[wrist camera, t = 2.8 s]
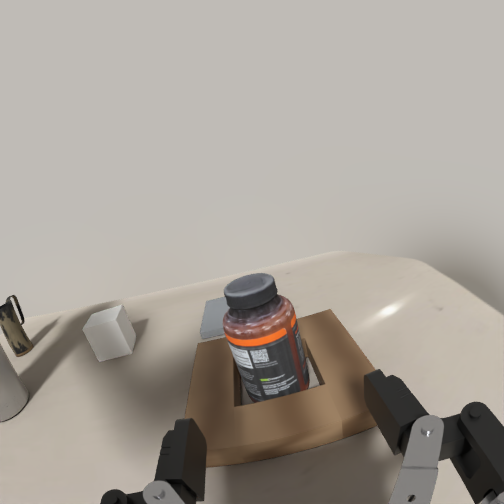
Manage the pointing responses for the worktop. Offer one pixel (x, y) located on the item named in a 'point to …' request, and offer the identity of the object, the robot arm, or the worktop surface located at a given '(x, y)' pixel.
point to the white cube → (110, 333)
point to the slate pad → (214, 317)
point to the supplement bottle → (264, 338)
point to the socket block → (281, 399)
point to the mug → (14, 328)
